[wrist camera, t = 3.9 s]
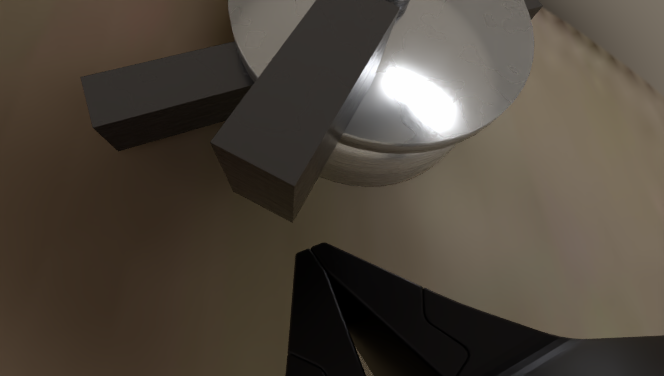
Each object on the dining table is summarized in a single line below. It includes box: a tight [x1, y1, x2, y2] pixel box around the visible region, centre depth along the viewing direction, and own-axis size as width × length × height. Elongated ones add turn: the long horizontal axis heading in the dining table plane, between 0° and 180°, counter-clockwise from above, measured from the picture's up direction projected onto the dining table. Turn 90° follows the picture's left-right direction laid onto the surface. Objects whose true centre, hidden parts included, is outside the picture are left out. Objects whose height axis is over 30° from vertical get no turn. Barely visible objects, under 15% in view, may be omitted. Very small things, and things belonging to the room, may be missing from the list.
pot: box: [81, 0, 542, 187], centre depth 19 cm, size 14×24×5 cm, turn 113°
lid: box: [210, 0, 534, 223], centre depth 14 cm, size 15×19×5 cm
